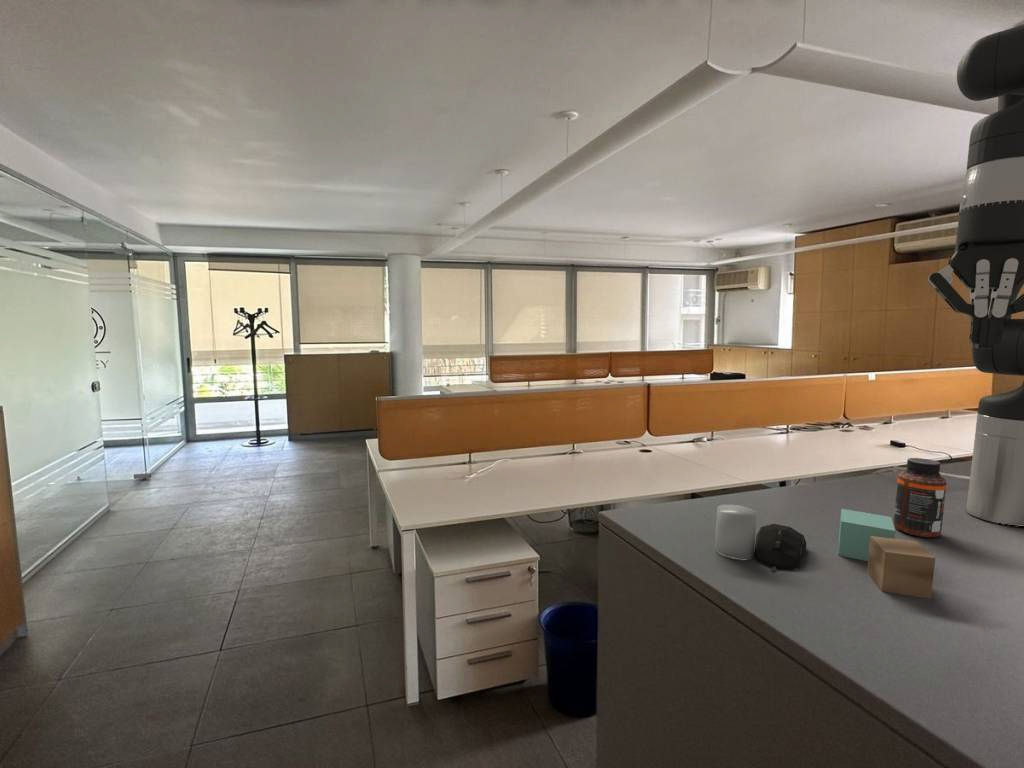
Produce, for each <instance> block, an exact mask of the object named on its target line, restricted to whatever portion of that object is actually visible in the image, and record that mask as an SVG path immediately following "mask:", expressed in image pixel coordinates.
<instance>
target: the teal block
mask: <svg viewBox="0 0 1024 768" xmlns="http://www.w3.org/2000/svg"><path fill="white" fill-rule="evenodd" d="M895 533H896V528H895V526H894V520H893V519H892V516H886V515H881V514H873V513H868V512H864V511H857V510H851V509H845V508H841V509H840V519H839V531H838V541H837V542H838V543H837V544H838V545H837V546H838V549H837V551H838V552H837V553H838V556H839V557H840V556H841V557H845V558H850V559H856V560H860V561H865V562H868V556H869V546H870V536H874V537H883V538H892V539H895V535H896V534H895Z"/></svg>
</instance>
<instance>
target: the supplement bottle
mask: <svg viewBox="0 0 1024 768" xmlns="http://www.w3.org/2000/svg"><path fill="white" fill-rule="evenodd" d="M905 465H906V469H904V470H902V471H901V472H900V473H899V474H898V476H897V484H896V492H895V493H896V495H895V501H894V502H895V505H894V514H893V525H894V528H895V529H896V530H898V531H899V532H901V533H905V534H906V535H911V536H914V537H920V538H929V539H931V538H938V537H939V536H941V533H942V530H943V519H944V509H945V501H946V492H947V481H946V478H945V477H943V476H941V473H940V471H941V463H940V462H939V461H936V460H933V459H928V458H922V457H921V458H920V457H909V458H907V462H906V464H905Z"/></svg>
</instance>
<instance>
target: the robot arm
mask: <svg viewBox="0 0 1024 768" xmlns="http://www.w3.org/2000/svg"><path fill="white" fill-rule="evenodd" d="M956 70H957V71H956V84H957V86H958V89H959V91H960V93H961V94H962V95H963V96H964V97H965V98H967V99H968V100H971V101H975V102H979V101H985V100H990V99H995V98H997V111H996V112H993V113H991V114H989V115H986V116H984V117H983V118H981V119H979V120H978V121H977V122H975V124H974V125H973V127H972V129H971V131H970V136H969V141H968V142H969V143H968V152H967V161H966V162H967V163H966V171H965V172H966V173H965V176H964V180H963V183H962V187H961V194H960V202H959V212H958V222H957V230H956V241H955V247H954V248H955V249H954V253H952V255H951V256H950V258H949V260H948V265H946V266H945V267H943V268H941V269H940V270H938V271H937V272H933V273H931V274H929V276H928V277H927V279H926V280H927V282H928V283H929V284H930V286H931V287H932V288H933V289H934V290H935V291H936V292H937V294H938V295H939V296H940V297H941V299H943V300H944V302H945V303H947V306H949V307H950V308H951V309H952V311H953V312H954V313H956V314H957V313H958V314H962V315H966V316H968V317H969V318H970V325H969V326H970V327H969V337H968V340H969V343H970V344H971V345H972V346H971V357H972V361H973V364H974V366H975V369H977V370H978V371H979V372H981V373H986V374H995V375H1007V376H1008V375H1009V376H1021V377H1024V318H1012V315H1014V314H1019V313H1022V312H1024V292H1023V293H1022V294H1020V295H1019V292H1021V289H1022V288H1023V286H1024V23H1023V24H1021V25H1018V26H1017V25H1016V26H1014V27H1010V28H1007V29H1004V30H1001V31H998V32H994V33H992V34H988V35H986V36H982V37H980V38H979V39H978V40H976V41H974V42H973V43H972V44H971V45H970V46H969V47H968V48H967V49H966V50H965V52H964V53H963V55H962V56H961V59H960V60H959V63H958V65H957V69H956ZM952 274H954V275H956V277H957V278H958V279H959V281H960V282H961V283H962V284H963V285H964V287H966V288H967V289H969V298H970V299H969V300H970V303H968V302H967V301H966V300H965V299H964V298H963V297H962V296H961V295H960V294H959V293H958V291H957V290H956V289H955V288H954V287H953V286H952V285H951V284H952V283H953V281H954V277H953V275H952ZM1018 295H1019V296H1018ZM972 450H973V451H972V459H971V468H970V475H969V477H970V478H969V484H968V493H967V499H966V500H967V501H966V509H965V511H966V513H968V514H969V515H971V516H973V517H975V518H978V519H982V520H985V521H987V522H991V523H995V524H999V523H1001V524H1000V525H1005V524H1009V525H1008V526H1010V525H1024V381H1023V382H1022V385H1020V386H1019V387H1016V388H1015V389H1012V390H1010V391H1007V392H1002V393H996V394H991V395H985V396H983V397H981V398H980V399H979V401H978V405H977V416H976V425H975V433H974V442H973V448H972Z"/></svg>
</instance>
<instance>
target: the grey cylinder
mask: <svg viewBox="0 0 1024 768" xmlns="http://www.w3.org/2000/svg"><path fill="white" fill-rule="evenodd" d="M715 523H716V526H715V540H714V550H715V549H716V550H717V551H719V552H720V553H722V554H724V555H726V556H730V557H735V558H739V559H749V560H751V559H750V558H752V559H754V549H755V541H756V527H757V511H755V510H754V509H752V508H750V507H747V506H744V505H739V504H738V505H737V504H720V505H719V506H717V509H716V522H715Z"/></svg>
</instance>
